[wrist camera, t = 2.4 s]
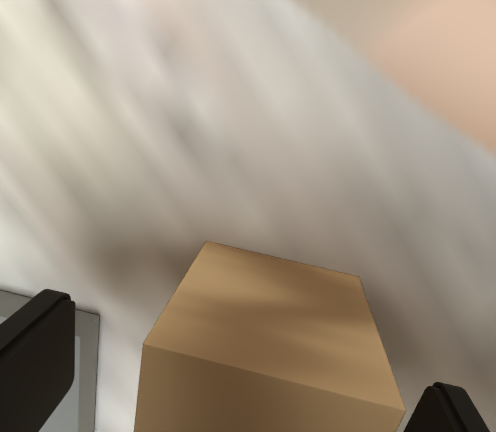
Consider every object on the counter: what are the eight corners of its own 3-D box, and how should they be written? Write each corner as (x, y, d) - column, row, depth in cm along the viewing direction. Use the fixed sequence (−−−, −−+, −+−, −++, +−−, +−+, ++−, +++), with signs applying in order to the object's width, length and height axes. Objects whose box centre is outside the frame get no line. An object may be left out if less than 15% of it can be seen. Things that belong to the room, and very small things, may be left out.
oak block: (357, 275, 11) (406, 411, 6) (317, 390, 13) (330, 565, 8) (206, 239, 11) (143, 343, 6) (187, 357, 13) (126, 506, 8)
